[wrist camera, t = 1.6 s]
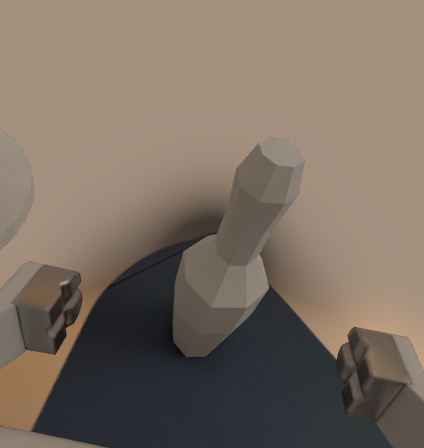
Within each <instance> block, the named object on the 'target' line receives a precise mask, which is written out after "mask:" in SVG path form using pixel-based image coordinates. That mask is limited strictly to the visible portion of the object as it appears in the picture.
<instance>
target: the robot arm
mask: <svg viewBox="0 0 424 448" xmlns="http://www.w3.org/2000/svg"><path fill="white" fill-rule="evenodd" d="M80 283H81V277H80V273H78V272H76V271H71V270H67V269H63V268H58V267H54V266H49V265H43V264H39V263H35V262H26V263H24V264H23V265H22V266H21V267H20V268H19V269H18V271H17V272H16V273H15V274H14V275H13V276H12V277H11V278H10V279H9V280H8V281H7V282H6V284H5V285H4V286H3V287H2V288H1V289H0V369H1V368H2V367H4V366H5V365H6V364H8V363H9V362H11V361H12V360H14V359H15V358H17V357H18V356H20V355H21V354H22V353H24V352H25V350H31V351H37V352H43V353H48V354H54V355H55V354H56V353H57V351H58V349H59V348H60V346H61V344H62V343H63V341H64V339H65V337H66V336H67V335H66V328H67V327H68V326H70V325H72V324H74V322H75V320H76V318H77V317H78V314H79V311H80V309H81V305H82V292H81V291H80V290H79V289H78V286H79V284H80ZM348 339H349V342H347V343H345V344H343V345H342V346H341V348H340V350H339V352H338V357H337V373H338V377H339V379H340V380H341V381H342V382H343V383H344V385H345V386H344V388H343V390H342V391H341V393H342V397H343V402H344V407H345V412H346V414H347V415H352V416H356V417H360V418H364V419H369V420H373V421H377V422H376V424H377V425H378V427H379V428H380V429H381V431H382V432H383V434H384V435H385V437H386V438H387V440H388V441H389V442H390V444H391V445H392V447H393V448H424V370H423V367H422V365H421V363H420V361H419V358H418V356H417V354H416V352H415V349H414V347H413V345H412V343H411V341H410V339H408V338H407V337H405V336H400V335H394V334H388V333H383V332H378V331H373V330H367V329H363V328H357V327H354V328H352V329H351V330H350V332H349V333H348ZM0 448H107V447H102V446H97V445H92V444H88V443H83V442H78V441H73V440H68V439H64V438H59V437H54V436H49V435H44V434H40V433H35V432H30V431H25V430H20V429H15V428H11V427H6V426H1V425H0Z"/></svg>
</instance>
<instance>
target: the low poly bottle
mask: <svg viewBox="0 0 424 448" xmlns="http://www.w3.org/2000/svg"><path fill="white" fill-rule="evenodd" d="M303 167H304V159H303V157H302V154H301V152H300V150H299V149H298V148H297V147H295V146H294V145H293V144H291V143H290V142H288V141H287V140H285V139H278V138H271V137H270V138H268V139H265V140H263V141H261V142H259V143H258V144H257V145H256V147H255V148H254V149H253V150H252V151H251V152H250V154H249V155H248V156H247V157H246V158H245V160H244V161H243V162H242V163H241V164H240V165H239V166H238V168H237V169H236V173H235V177H234V181H233V186H232V190H231V194H230V198H229V202H228V207H227V210H226V213H225V215H224V218H223V220H222V223H221V225H220V228H219V231H218V233H217V234H216V235H211V236H207V237H205V238H204V239H202V240H201V241H199V242H198V243H196V244H195V245H193V246H191V247H190V248H188V249H187V250H185V251H184V252H183V256H182V259H181V263H180V266H179V270H178V273H177V277H176V280H175V293H174V309H173V342H174V343H175V344H176V346H177V347H178V348H179V349H180V350H181V351H182V353H183V354H184V355H185V356H186V357H206V356H207V355H208V354H209V353H210V352H211V351H213V350H214V349H215V348H216V347H217V346H218V345H219V344H220V343H221V342H222V341H223V340H224V339H225V338H226V337H228V336H229V335H230V334H231V333H232V332H233V331H234V330H235V329H236V328H237V327H238V326H239V325H240V324H241V323H242V322H243V321H244V320H246V319H247V318H248V317H249V316H250V315H251V314H252V312H253V311H254V309H255V308H256V306H257V305H258V303H259V302H260V300H261V299H262V298H263V296H264V295H265V293H266V292H267V290H268V289H269V286H268V282H267V278H266V274H265V270H264V265H263V261H262V258H261V256H260V255H259V253H260V252H261V250H262V248H263V246H264V244H265V243H266V241H267V239H268V237H269V236H270V234H271V232H272V230H273V228H274V227H275V226H276V224H277V223H278V222H279V220H280V219H281V218H282V216H283V215H284V214H285V212H286V211H287V210H288V208H289V207H290V206H291V204H292V203H293V202H294V200H295V199H296V198H297V196H298V195H299V191H300V185H301V179H302V173H303Z"/></svg>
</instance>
